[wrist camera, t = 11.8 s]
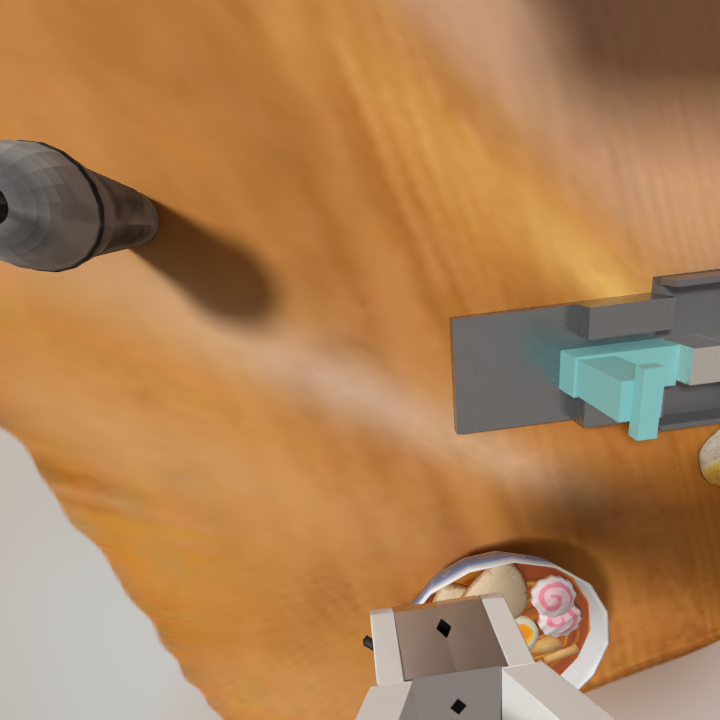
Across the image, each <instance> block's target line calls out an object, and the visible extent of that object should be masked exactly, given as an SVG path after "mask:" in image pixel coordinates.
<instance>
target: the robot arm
mask: <svg viewBox="0 0 720 720" xmlns="http://www.w3.org/2000/svg"><path fill="white" fill-rule="evenodd" d="M370 619H371V629H372V639H373V649H374V659H375V669H376V679H377V686H372V687H370V689H369V691H368V693H367V695H366V697H365V700H364V702H363V704H362V706H361V708H360V710H359V713H358V715H357V717H356V719H355V720H615V719H614V718H613V717H612V716H610V715H609V714H608V713H607V712H605V711H604V710H603V709H602V708H600V707H599V706H598V705H597V704H595V703H594V702H593V701H592V700H590V699H589V698H588V697H587V696H585V695H584V694H583V693H582V692H580V691H579V690H578V689H577V688H575V687H574V686H573V685H572V684H570V683H569V682H568V681H567V680H565V679H564V678H563V677H562V676H560V675H559V674H558V673H557V672H555V671H554V670H553V669H552V668H550V667H549V666H548V665H547V664H545V663H544V662H543V661H542V662H535V660H534V658H533V655H532V653H531V651H530V649H529V647H528V645H527V643H526V641H525V639H524V637H523V635H522V633H521V631H520V629H519V627H518V624H517V622H516V620H515V618H514V616H513V614H512V612H511V610H510V608H509V606H508V604H507V602H506V600H505V598H504V596H503V595H502V594H501V593H500V592H496V593H489V594H482V595H478V596H477V595H473V596H467V597H460V598H454V599H448V600H441V601H435V602H433V603H424V604H415V605H406V606H397V607H393V609H392V607H391V608H382V609H374V610H371V611H370Z"/></svg>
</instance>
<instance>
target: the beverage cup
mask: <svg viewBox="0 0 720 720" xmlns="http://www.w3.org/2000/svg"><path fill="white" fill-rule="evenodd" d="M158 225H159V221H158V214H157V211H156V208H155V206H154V205H153V204H152V202H151V201H150V200H149V199H148V198H147V197H146V196H145V195H143V194H142V193H139V192H137V191H136V190H135V189H132V188H130V187H128V186H126V185H123V184H121V183H119V182H116V181H114V180H112V179H110V178H107V177H105V176H103V175H100V174H98V173H96V172H94V171H91V170H89V169H87V168H85V167H84V166H83V165H82V164H80V163H79V162H77V161H76V160H74V159H73V158H71V157H70V156H69V155H68V154H66V153H65V152H64V151H61V150H59V149H57V148H54V147H52V146H50V145H47V144H45V143H43V142H34V141H25V140H17V141H12V140H1V141H0V260H2V261H5V262H7V263H10V264H13V265H15V266H18V267H22V268H27V269H33V270H37V271H49V272H61V271H65V270H69V269H73V268H76V267H78V266H79V265H81V264H82V263H84V262H86V261H88V260H90V259H92V258H93V257H95V256H99V255H103V254H107V253H111V252H116V251H120V250H124V249H128V248H132V247H136V246H139V245H140V244H144V243H146V242H148V241H149V240H151V239H152V238H153V237H154V235H155V234H156V232H157V229H158Z"/></svg>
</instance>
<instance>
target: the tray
mask: <svg viewBox="0 0 720 720" xmlns="http://www.w3.org/2000/svg"><path fill="white" fill-rule="evenodd" d="M652 293H656V294H662V295H668V296H674V297H676V305H675V314H674V322H673V329H671V330H663V331H656V333H655V339H660V338H665V337H674V336H682V335H691V334H697V333H705V332H714V331H720V269H716V270H708V271H700V272H692V273H683V274H675V275H667V276H659V277H653V285H652ZM664 389H666V391H665V400H664V408H663V417H662V418H659V424H658V430H660V431H666V430H674V429H681V428H689V427H696V426H704V425H711V424H719V423H720V382H713V383H705V384H697V385H687V384H685V383H682V382H680V381H677V380H676V385H673V386H665V387H664Z"/></svg>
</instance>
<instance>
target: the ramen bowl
mask: <svg viewBox="0 0 720 720" xmlns="http://www.w3.org/2000/svg"><path fill="white" fill-rule="evenodd" d="M496 592H500V593H501V594H502V595H503V596H504V598H505V600H506V602H507V604H508V606H509V608H510V610H511V612H512V614H513V616H514V618H515V620H516V622H517V624H518V627H519V629H520V631H521V633H522V635H523V637H524V639H525V641H526V643H527V645H528V647H529V649H530V651H531V653H532V655H533V658H534V660H535V662H542V661H543V662H544V663H545V664H547V665H548V666H549V667H550V668H552V669H553V670H554V671H555V672H557V673H558V674H559V675H560V676H562V677H563V678H564V679H565V680H567V681H568V682H569V683H570V684H572V685H573V686H574V687H575V688H577V689H578V690H580V689H581V688H582V687H583V686H584V685H585V684H586V683H587V682H588V681H589V680H590V679H591V678H592V677H593V676H594V675H595V673H596V670H597V668H598V666H599V664H600V662H601V660H602V658H603V656H604V654H605V652H606V650H607V647H608V645H609V623H608V611H607V609H606V608H605V606H604V604H603V603H602V601H601V600H600V598H599V596H598V595H597V593H596V592H595V590H594V588H593V587H592V585H591V584H590V583H588V582H586V581H585V580H583V579H581V578H579V577H577V576H575V575H574V574H572V573H570V572H568V571H566V570H564V569H563V568H561V567H559V566H557V565H555V564H553V563H552V562H550V561H548V560H546V559H543V558H540V557H537V556H533V555H525V554H517V553H509V552H501V551H492V552H488V553H483V554H479V555H474V556H470V557H465V558H463V559H461V560H459V561H457V562H456V563H454V564H452V565H450V566H449V567H447V568H445V569H444V570H442V571H440V572H438V573H437V574H436V575H435V576H434V577H433V578H432V580H431V581H430V582H429V583H428V584H427V586H426V587H425V588H424V589H423V590H422V592H421V593H420V594H419V595H418V596H417V598H416V599H415V600H414V601H413V603H412V604H411V605H415V604H424V603H433V602H435V601H441V600H448V599H454V598H460V597H467V596H473V595H477V596H478V595H482V594H489V593H496ZM363 644H364V646H366V647H368V648H369V649H371V650H373V651H374V649H373V639H372V638H370V637H369V636H366V637H365V638H364V639H363Z"/></svg>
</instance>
